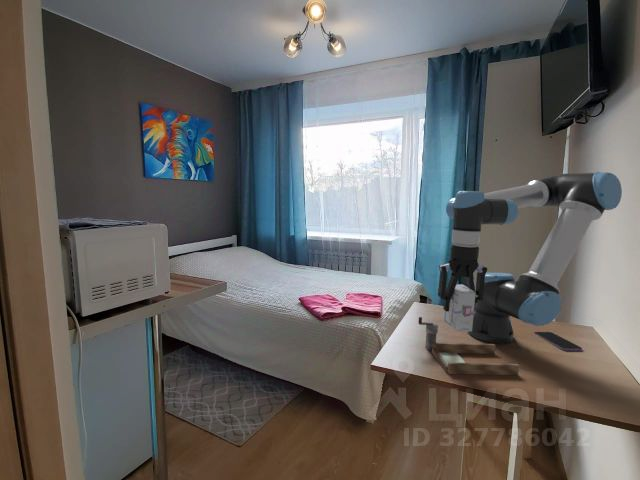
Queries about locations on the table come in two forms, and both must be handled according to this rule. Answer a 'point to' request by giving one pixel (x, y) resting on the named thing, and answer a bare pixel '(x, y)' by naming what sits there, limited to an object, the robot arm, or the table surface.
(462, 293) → the ink box
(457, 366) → the bay
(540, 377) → the table surface
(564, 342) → the smartphone
